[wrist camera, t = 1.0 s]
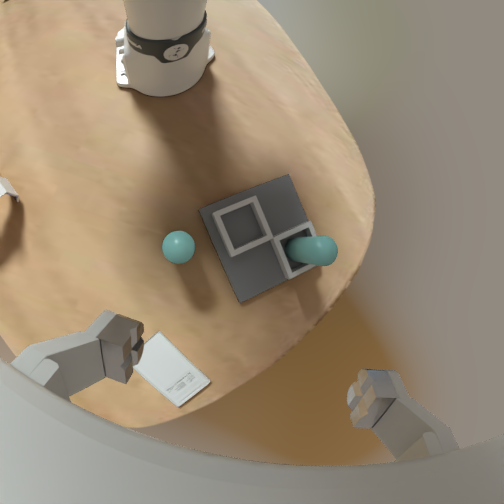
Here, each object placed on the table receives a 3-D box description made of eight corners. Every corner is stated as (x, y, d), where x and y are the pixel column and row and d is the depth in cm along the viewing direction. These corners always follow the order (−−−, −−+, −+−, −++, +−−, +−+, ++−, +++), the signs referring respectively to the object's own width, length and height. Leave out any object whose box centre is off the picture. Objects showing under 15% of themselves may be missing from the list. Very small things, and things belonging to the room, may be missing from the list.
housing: (198, 210, 43) (204, 199, 32) (286, 175, 47) (315, 158, 36) (238, 301, 45) (256, 319, 34) (320, 260, 49) (356, 265, 38)
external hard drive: (159, 329, 43) (210, 378, 45) (126, 357, 41) (177, 403, 44) (159, 331, 41) (211, 382, 43) (125, 361, 40) (177, 408, 42)
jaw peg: (162, 239, 42) (157, 238, 32) (186, 229, 43) (187, 225, 33) (173, 263, 42) (170, 269, 33) (196, 252, 43) (200, 255, 34)
